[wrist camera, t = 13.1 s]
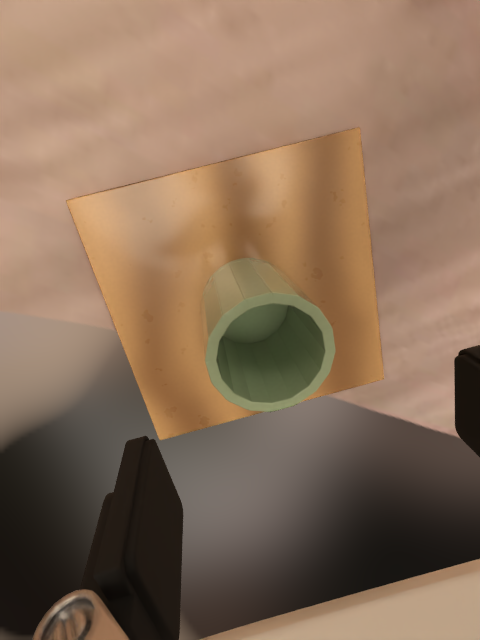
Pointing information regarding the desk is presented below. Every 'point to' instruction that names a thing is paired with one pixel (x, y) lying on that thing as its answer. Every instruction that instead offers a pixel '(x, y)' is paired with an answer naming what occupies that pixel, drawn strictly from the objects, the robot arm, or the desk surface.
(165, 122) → the desk surface
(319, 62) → the desk surface
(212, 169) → the mat
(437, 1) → the desk surface
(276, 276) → the pot
